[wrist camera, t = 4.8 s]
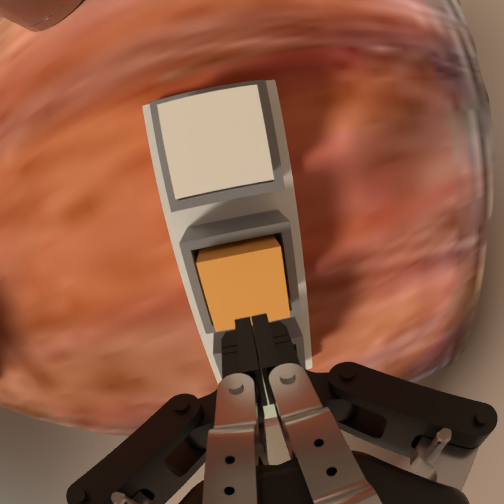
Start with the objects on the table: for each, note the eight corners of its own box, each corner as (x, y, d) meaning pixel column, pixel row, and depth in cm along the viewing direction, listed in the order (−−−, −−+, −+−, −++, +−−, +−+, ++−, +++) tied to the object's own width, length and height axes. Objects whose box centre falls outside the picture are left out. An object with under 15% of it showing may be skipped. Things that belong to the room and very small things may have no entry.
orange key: (202, 238, 20) (196, 263, 16) (267, 225, 21) (280, 246, 16) (216, 296, 22) (215, 331, 17) (277, 284, 22) (290, 317, 18)
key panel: (147, 109, 18) (124, 95, 13) (271, 84, 19) (286, 63, 13) (219, 376, 28) (219, 415, 22) (308, 358, 28) (323, 394, 23)
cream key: (174, 118, 16) (156, 104, 11) (248, 103, 16) (256, 84, 12) (188, 188, 18) (175, 199, 13) (261, 173, 18) (274, 179, 13)
